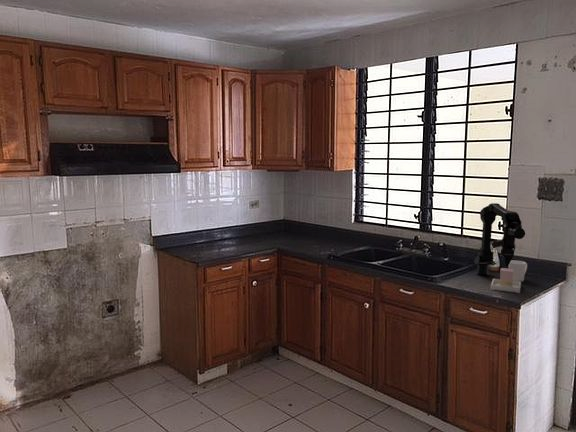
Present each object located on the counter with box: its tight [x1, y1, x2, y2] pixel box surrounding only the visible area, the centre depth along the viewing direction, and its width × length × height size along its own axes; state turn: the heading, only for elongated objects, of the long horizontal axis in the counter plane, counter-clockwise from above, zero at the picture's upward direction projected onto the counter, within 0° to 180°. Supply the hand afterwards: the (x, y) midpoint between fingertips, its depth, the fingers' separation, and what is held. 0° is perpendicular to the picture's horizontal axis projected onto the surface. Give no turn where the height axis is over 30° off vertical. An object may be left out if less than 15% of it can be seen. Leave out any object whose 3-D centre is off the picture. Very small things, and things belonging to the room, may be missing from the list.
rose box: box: [499, 267, 513, 280], centre depth 256 cm, size 6×6×4 cm
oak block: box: [499, 278, 513, 287], centre depth 256 cm, size 6×6×5 cm
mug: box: [507, 259, 528, 283], centre depth 272 cm, size 11×9×10 cm
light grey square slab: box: [490, 278, 522, 294], centre depth 256 cm, size 14×14×2 cm
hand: (507, 264), depth 255 cm, fingers open, 9 cm apart
